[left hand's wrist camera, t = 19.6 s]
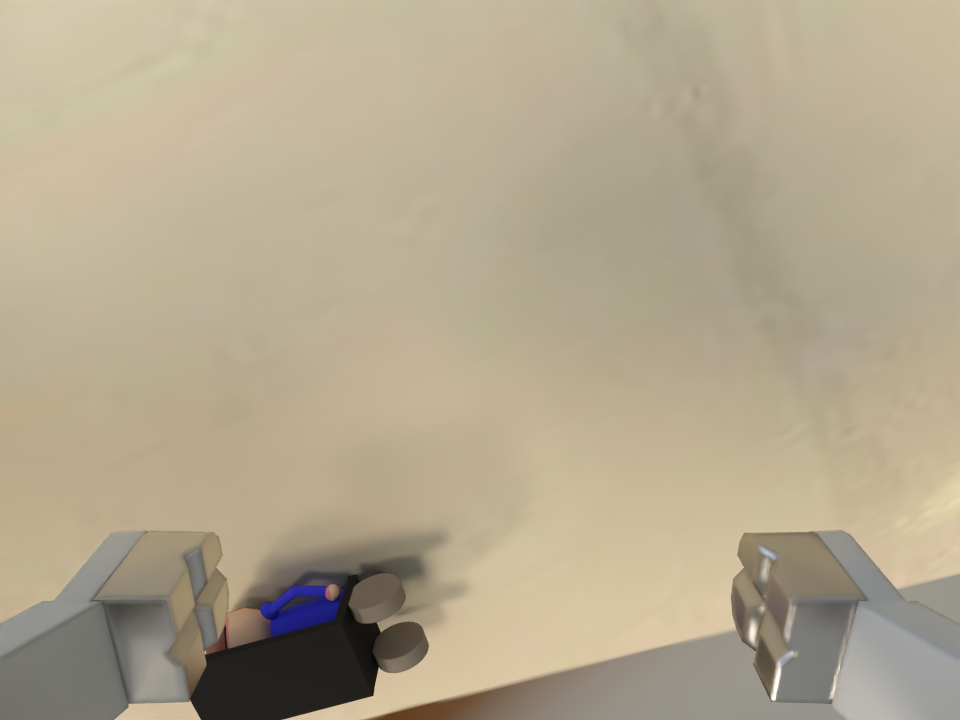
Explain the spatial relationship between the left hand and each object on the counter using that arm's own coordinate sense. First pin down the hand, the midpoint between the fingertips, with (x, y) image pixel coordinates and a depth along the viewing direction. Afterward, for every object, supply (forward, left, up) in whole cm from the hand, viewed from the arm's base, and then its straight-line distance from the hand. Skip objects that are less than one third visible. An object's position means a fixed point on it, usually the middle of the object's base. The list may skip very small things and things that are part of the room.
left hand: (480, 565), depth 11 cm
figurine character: (-28, +12, -31) cm, 43 cm away
